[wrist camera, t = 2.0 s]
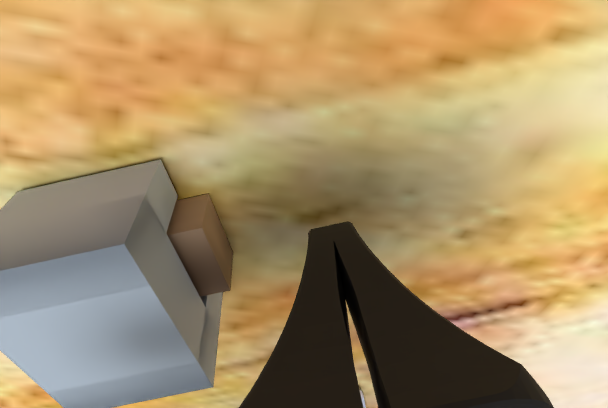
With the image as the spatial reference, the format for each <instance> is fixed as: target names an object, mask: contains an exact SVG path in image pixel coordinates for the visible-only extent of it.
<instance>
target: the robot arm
mask: <svg viewBox="0 0 608 408" xmlns="http://www.w3.org/2000/svg"><path fill="white" fill-rule="evenodd" d="M308 237H309V238H308V249H307V256H306V261H305V266H304V270H303V274H302V278H301V282H300V285H299V289H298V292H297V295H296V298H295V301H294V304H293V307H292V310H291V312H290V315H289V318H288V320H287V322H286V325H285V327H284V330H283V332H282V334H281V336H280V338H279V340H278V342H277V344H276V347H275V349H274V351H273V352H272V354H271V356H270V358H269V360H268V362H267V363H266V365H265V367H264V369H263V370H262V372H261V374H260V376H259V377H258V379H257V381H256V382H255V384H254V386H253V387H252V389H251V391H250V392H249V394H248V395H247V396H246V398H245V399H244V401H243V402H242V404H241V405H240V407H239V408H366V406H365V401H364V396H363V392H362V391H361V390H359V385H358V381H357V376H356V372H355V367H354V362H353V354H352V347H351V339H350V331H349V323H348V316H347V308H346V302H347V305H348V308H349V311H350V314H351V317H352V320H353V323H354V325H355V328H356V331H357V334H358V337H359V340H360V343H361V346H362V349H363V352H364V355H365V358H366V361H367V364H368V368H369V371H370V375H371V379H372V383H373V387H374V391H375V395H376V399H377V404H378V408H554V407H553V405H552V404H551V402H550V400H549V398H548V397H547V396H546V394H545V393H544V391H543V390H542V389H541V387H540V386H539V385H538V384H537V382H536V381H535V380H534V379H533V377H532V376H531V375H530V374H529V373H528V371H527V370H526V369H525V368H524V367H523V366H522V365H521V364H520V363H518V362H516V361H514V360H512V359H510V358H508V357H506V356H505V355H503V354H501V353H499V352H497V351H496V350H494V349H492V348H490V347H489V346H487V345H485V344H483V343H482V342H480V341H479V340H477V339H475V338H474V337H472V336H470V335H469V334H467V333H466V332H464V331H463V330H461V329H460V328H458V327H457V326H455V325H454V324H453V323H451V322H450V321H448V320H447V319H445V318H444V317H442V316H441V315H440V314H438V313H437V312H435V311H434V310H433V309H432V308H430V307H429V306H428V305H426V304H425V303H424V302H423V301H421V300H420V299H419V298H418V297H417V296H415V295H414V294H413V293H412V292H411V291H410V290H409V289H407V288H406V287H405V286H404V285H403V284H402V283H401V282H400V281H399V280H398V279H397V278H396V277H395V276H394V275H393V274H392V273H391V272H390V271H389V270H388V269H387V268H386V267H385V266H384V265H383V264H382V263H381V261H380V260H379V259H378V258H377V257H376V256H375V255H374V254H373V252H372V251H371V250H370V249H369V248H368V246H367V245H366V244H365V242H364V241H363V240H362V238H361V237H360V236H359V234H358V233H357V231H356V229H355V228H354V226H353V224H352V223H350V222H349V221H348V222H343V223H339V224H334V225H329V226H325V227H320V228H315V229H311V230H310V232H309V233H308ZM345 299H346V300H345Z"/></svg>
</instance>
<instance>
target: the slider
mask: <svg viewBox="0 0 608 408" xmlns="http://www.w3.org/2000/svg"><path fill="white" fill-rule="evenodd" d="M177 197H178V195H177V193H176V191H175V189H174V187H173V185H172V182H171V180H170V178H169V176H168V174H167V172H166V170H165V168H164V165H163V163H162V161H161V159H160V160H156V161H151V162H147V163H143V164H138V165H134V166H129V167H125V168H120V169H116V170H111V171H107V172H102V173H98V174H93V175H89V176H85V177H80V178H76V179H71V180H67V181H62V182H58V183H53V184H49V185H44V186H40V187H36V188H31V189H27V190H22V191H18V192H17V193H16V194H15V195H14V196H13V197H12V198H11V199H10V200H9V201H8V202H7V203H6V204H5V205H4V206H3V208H2V209H1V210H0V351H1V352H2V353H4V354H5V355H6V356H7V357H8V358H9V359H10V360H11V361H12V362H14V363H15V364H16V365H17V366H18V367H19V368H20V369H21V370H22V371H24V372H25V373H26V374H27V375H28V376H29V377H30V378H31V379H32V380H34V381H35V382H36V383H37V384H38V385H39V386H40V387H41V388H42V389H44V390H45V391H46V392H47V393H48V394H49V395H50V396H51V397H52V398H54V399H55V400H56V401H57V402H58V403H59V404H60V405H61V406H62V407H64V408H112V407H117V406H122V405H127V404H132V403H137V402H142V401H147V400H152V399H157V398H162V397H166V396H171V395H176V394H181V393H186V392H191V391H196V390H201V389H206V388H211V387H213V385H214V375H215V365H216V355H217V345H218V335H219V325H220V315H221V305H222V295H223V292H220V293H215V294H211V295H206V296H201V297H200V296H199V294H198V292H197V290H196V289H195V287H194V285H193V283H192V281H191V279H190V277H189V275H188V273H187V272H186V270H185V268H184V266H183V264H182V262H181V260H180V258H179V256H178V254H177V253H176V251H175V249H174V247H173V245H172V243H171V241H170V239H169V237H168V236H167V234H166V233H167V229H168V226H169V223H170V220H171V216H172V213H173V210H174V207H175V203H176V200H177Z"/></svg>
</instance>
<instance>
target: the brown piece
mask: <svg viewBox="0 0 608 408" xmlns="http://www.w3.org/2000/svg"><path fill="white" fill-rule="evenodd" d="M166 234H167V236H168V237H169V239H170V241H171V243H172V245H173V247H174V249H175V251H176V253H177V254H178V256H179V258H180V260H181V262H182V264H183V266H184V268H185V270H186V272H187V273H188V275H189V277H190V279H191V281H192V283H193V285H194V287H195V289H196V290H197V292H198V294H199V296H200V297H201V296H206V295H211V294H215V293H220V292H225V291H230V288H231V275H232V263H233V252H232V249H231V247H230V244H229V242H228V240H227V237H226V235H225V232H224V230H223V227H222V225H221V223H220V220H219V218H218V215H217V213H216V210H215V208H214V206H213V203H212V201H211V198H210V196H209V194H205V195H200V196H195V197H191V198H186V199H182V200H177V201H176V203H175V207H174V210H173V213H172V216H171V220H170V223H169V226H168V229H167V233H166Z"/></svg>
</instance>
